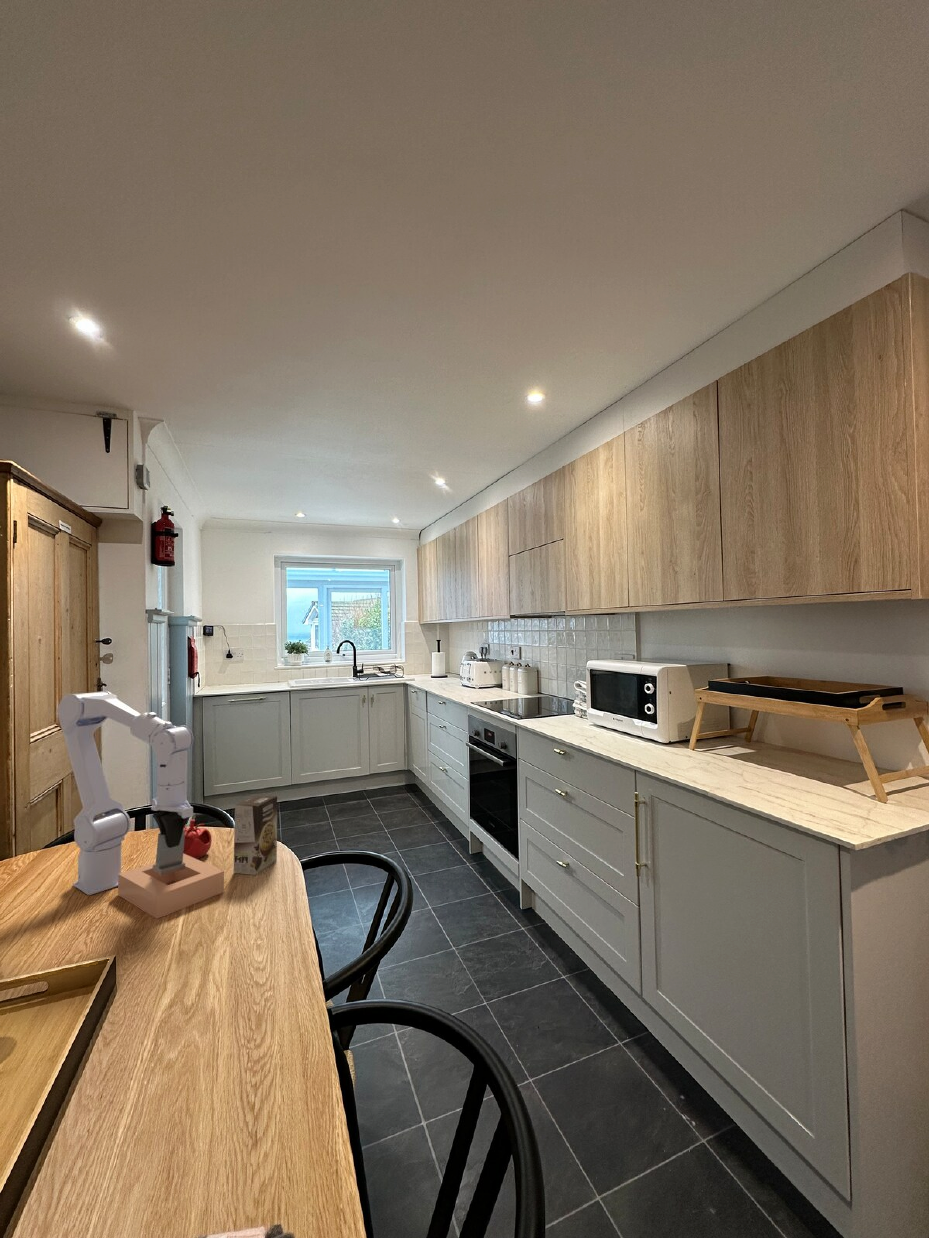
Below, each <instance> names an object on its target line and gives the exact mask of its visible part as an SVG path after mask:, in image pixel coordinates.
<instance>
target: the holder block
mask: <svg viewBox="0 0 929 1238" xmlns="http://www.w3.org/2000/svg"><path fill="white" fill-rule="evenodd" d="M183 863H185V869H183V870H179V871H176V872H172V873H168V874H164V875H159V874H157V873H155V872H154V871H152V870H153V865H155V864H156V861H155V862H152V863H149V864H146V865H143V866H139V867H136V868H133V869H129V870H127V871H123V872H121V873H120V874H118V886H117V896H119V897H120V898H122V899H124V900H125V901H127V902H128V903H130V904H131V905H133V906H135V907H137V908H138V909H140V910H142V911H143V912H144V913H146V914H147V915H150V916H151V917H153V918H155V919H159V918H160V919H161V918H162V917H164V916H167V915H170V914H173V913H175V912H177V911H180V910H182V909H185V908H188V907H191V906H193V905H195V904H197V903H200V902H202V901H205V900H207V899H210V898H212V897H215V896H218V895H220V894H222V893H224V891H225V871H224V870H223V869H220V868H218V867H215V866H213V865H211V864H209V863H206V862H204V861H202V860H199V859H198V858H197V859H195V858H193V857H190V856H188V855H186V854H183ZM169 883H171V884H169Z"/></svg>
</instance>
